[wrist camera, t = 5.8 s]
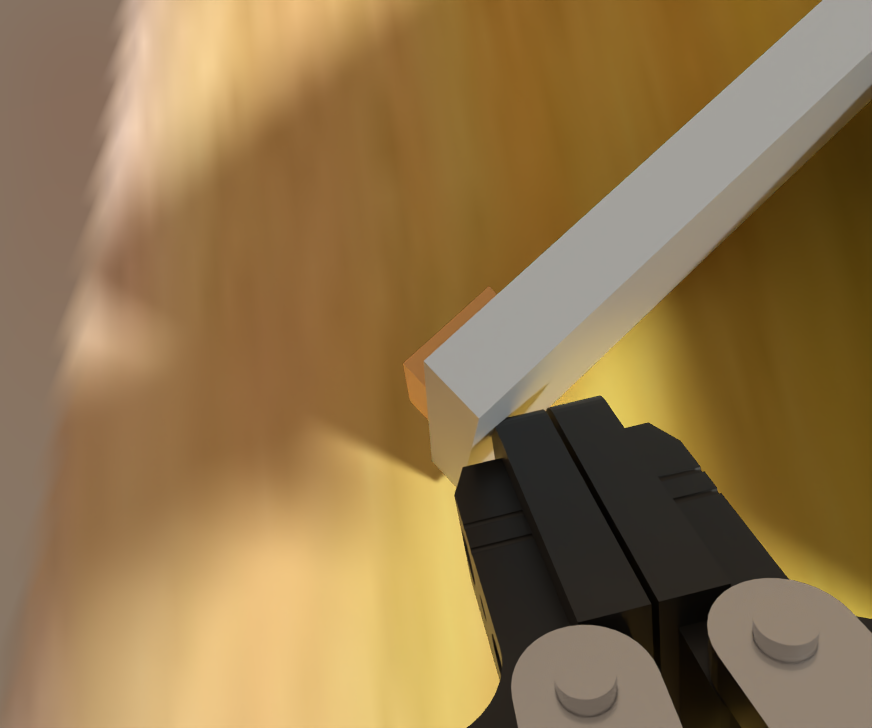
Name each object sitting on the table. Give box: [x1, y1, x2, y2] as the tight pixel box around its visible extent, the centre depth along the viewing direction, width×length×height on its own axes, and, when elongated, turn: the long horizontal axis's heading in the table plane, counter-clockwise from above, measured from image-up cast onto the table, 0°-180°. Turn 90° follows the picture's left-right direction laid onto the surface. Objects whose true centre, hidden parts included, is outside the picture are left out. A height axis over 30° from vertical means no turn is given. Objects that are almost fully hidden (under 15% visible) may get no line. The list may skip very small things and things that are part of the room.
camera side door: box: [403, 0, 872, 488], centre depth 13 cm, size 2×14×8 cm, turn 133°
